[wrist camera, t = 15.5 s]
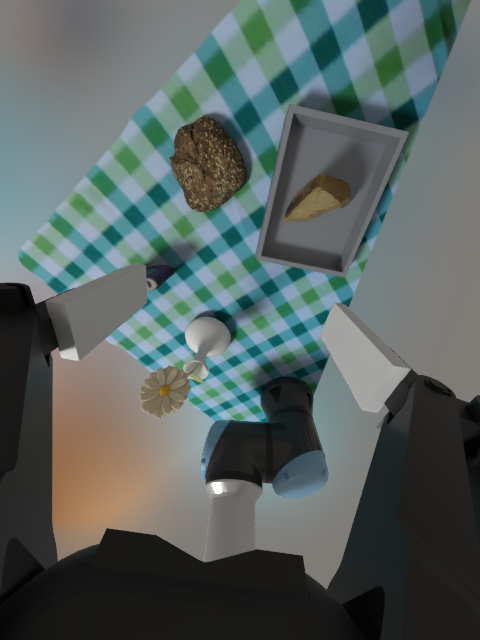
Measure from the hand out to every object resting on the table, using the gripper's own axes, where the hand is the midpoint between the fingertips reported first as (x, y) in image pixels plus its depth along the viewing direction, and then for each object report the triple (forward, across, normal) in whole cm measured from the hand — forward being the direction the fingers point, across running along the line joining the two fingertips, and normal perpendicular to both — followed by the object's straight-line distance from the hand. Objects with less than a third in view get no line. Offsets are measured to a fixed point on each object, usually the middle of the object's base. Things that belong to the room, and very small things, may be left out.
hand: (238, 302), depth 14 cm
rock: (+30, -11, -9) cm, 33 cm away
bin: (+31, -11, -9) cm, 34 cm away
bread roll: (+31, +10, -11) cm, 34 cm away
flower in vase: (+31, +6, +23) cm, 39 cm away
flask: (+31, +19, +10) cm, 38 cm away
